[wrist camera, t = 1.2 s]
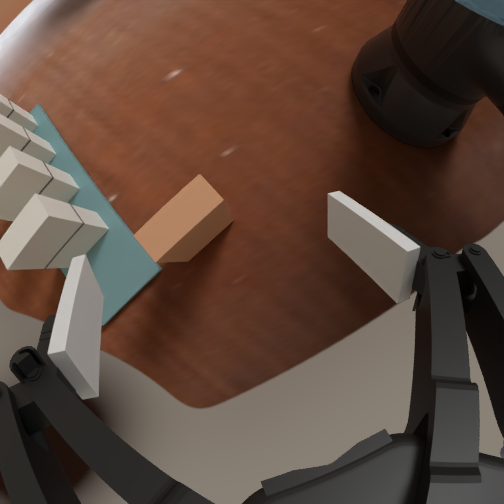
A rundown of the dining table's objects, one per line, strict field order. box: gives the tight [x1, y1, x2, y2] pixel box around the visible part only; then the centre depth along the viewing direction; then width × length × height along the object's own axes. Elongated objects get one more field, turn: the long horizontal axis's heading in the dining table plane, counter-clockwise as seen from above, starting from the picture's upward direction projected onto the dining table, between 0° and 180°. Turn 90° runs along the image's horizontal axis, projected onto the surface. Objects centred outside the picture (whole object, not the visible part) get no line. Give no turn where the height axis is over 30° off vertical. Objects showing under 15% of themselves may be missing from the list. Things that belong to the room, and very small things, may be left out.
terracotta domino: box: [133, 174, 234, 263], centre depth 26 cm, size 2×6×11 cm, turn 132°
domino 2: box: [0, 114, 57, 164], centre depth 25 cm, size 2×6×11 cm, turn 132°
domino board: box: [29, 104, 162, 326], centre depth 31 cm, size 28×9×1 cm, turn 42°
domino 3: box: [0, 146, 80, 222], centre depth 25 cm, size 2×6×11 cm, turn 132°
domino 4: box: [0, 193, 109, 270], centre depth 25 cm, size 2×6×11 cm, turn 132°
